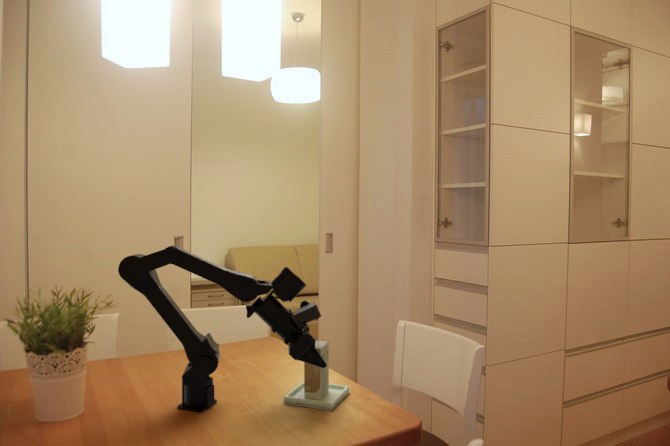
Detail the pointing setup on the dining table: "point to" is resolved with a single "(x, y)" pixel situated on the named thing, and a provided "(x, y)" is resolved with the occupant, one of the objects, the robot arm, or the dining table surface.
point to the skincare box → (317, 374)
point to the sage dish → (326, 403)
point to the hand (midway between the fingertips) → (322, 360)
